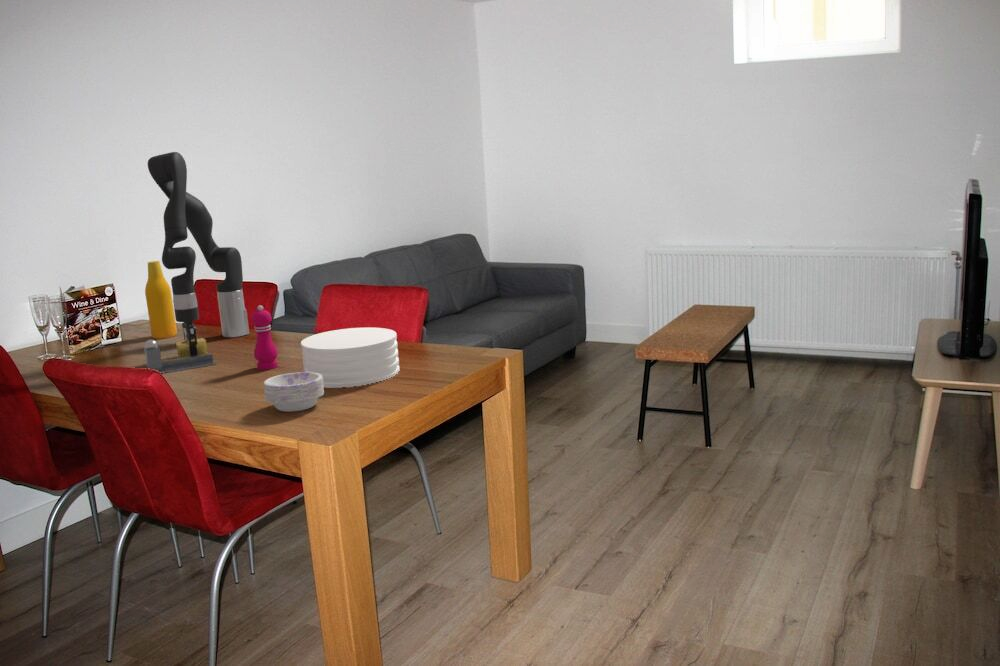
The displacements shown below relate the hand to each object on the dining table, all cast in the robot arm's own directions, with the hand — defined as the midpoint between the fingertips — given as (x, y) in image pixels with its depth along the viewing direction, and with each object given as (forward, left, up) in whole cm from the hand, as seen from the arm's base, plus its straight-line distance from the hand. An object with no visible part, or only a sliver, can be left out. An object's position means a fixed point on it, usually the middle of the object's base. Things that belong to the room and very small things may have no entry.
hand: (192, 354), depth 289 cm
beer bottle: (+3, -46, -1) cm, 46 cm away
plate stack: (-37, +60, -1) cm, 70 cm away
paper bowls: (-14, +82, -1) cm, 83 cm away
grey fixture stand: (+5, +11, -1) cm, 12 cm away
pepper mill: (-18, +33, -1) cm, 37 cm away
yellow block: (0, 0, -1) cm, 1 cm away
